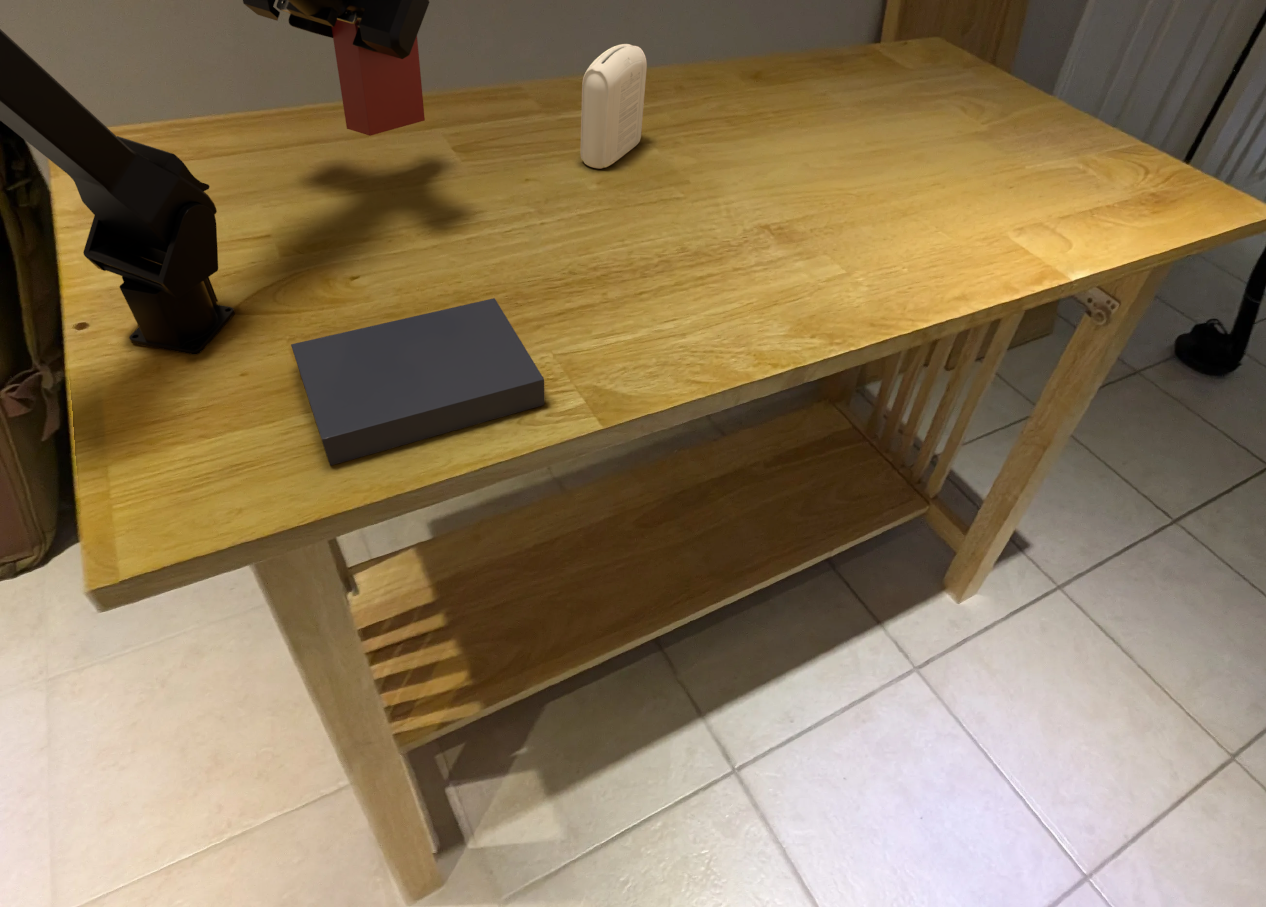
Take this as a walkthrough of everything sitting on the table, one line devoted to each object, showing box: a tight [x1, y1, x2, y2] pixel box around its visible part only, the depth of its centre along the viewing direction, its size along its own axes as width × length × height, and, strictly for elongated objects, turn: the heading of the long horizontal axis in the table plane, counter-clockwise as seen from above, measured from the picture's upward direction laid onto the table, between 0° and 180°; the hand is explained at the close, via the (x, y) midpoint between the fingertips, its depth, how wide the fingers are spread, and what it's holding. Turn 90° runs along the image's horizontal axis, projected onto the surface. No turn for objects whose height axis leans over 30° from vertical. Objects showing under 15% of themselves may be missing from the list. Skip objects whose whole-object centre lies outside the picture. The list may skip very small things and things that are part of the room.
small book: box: [331, 20, 426, 137], centre depth 82 cm, size 8×4×13 cm, turn 147°
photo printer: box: [580, 43, 648, 169], centre depth 95 cm, size 10×4×12 cm, turn 151°
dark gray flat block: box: [290, 297, 546, 467], centre depth 67 cm, size 18×12×3 cm, turn 117°
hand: (383, 47), depth 82 cm, fingers closed on small book, 4 cm apart
